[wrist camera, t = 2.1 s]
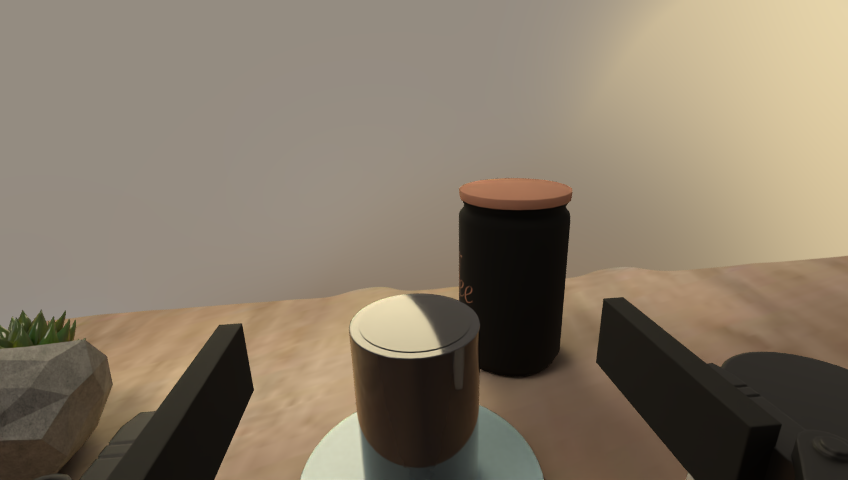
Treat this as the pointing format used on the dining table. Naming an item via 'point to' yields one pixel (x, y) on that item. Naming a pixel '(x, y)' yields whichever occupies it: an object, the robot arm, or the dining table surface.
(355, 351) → the dark glossy canister
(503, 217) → the coffee jar
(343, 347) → the dining table surface
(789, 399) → the jar
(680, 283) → the dining table surface
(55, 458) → the potted plant
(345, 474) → the saucer
